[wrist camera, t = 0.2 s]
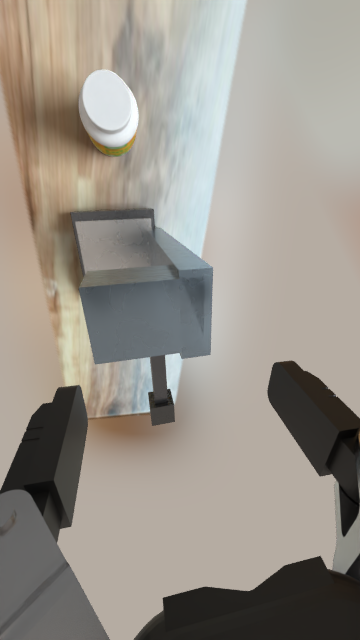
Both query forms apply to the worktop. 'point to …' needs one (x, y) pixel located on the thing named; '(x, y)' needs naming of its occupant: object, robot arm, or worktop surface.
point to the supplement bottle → (108, 112)
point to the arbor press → (142, 295)
